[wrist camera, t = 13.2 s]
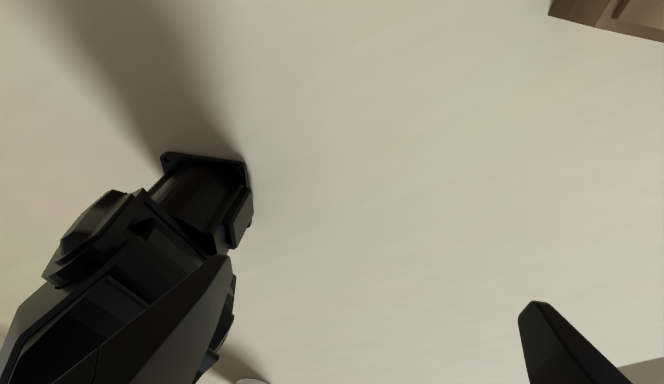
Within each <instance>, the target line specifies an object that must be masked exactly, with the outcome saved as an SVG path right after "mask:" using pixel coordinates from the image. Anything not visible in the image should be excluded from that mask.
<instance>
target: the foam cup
mask: <svg viewBox="0 0 664 384" xmlns="http://www.w3.org/2000/svg"><path fill="white" fill-rule="evenodd" d="M236 384H268V383H266V382H264V381H260V380H256V379H248V378H246V379H240V380H238V381H237V382H236Z"/></svg>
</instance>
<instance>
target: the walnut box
mask: <svg viewBox="0 0 664 384" xmlns="http://www.w3.org/2000/svg"><path fill="white" fill-rule="evenodd" d="M548 15H549V16H553V17H556V18H560V19H564V20H568V21H572V22H575V23H579V24H583V25H587V26H591V27H594V28H599V29H604V30H608V31H613V32H617V33H622V34H626V35H631V36H635V37H640V38H644V39H649V40H654V41H658V42H663V43H664V0H555V2H554V4H553V6H552V8H551V10H550V12H549V14H548Z"/></svg>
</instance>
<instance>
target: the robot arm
mask: <svg viewBox="0 0 664 384" xmlns="http://www.w3.org/2000/svg"><path fill="white" fill-rule="evenodd" d="M167 158H168V159H169V160H168V159H167ZM160 160H161V163H162V167H163V170H164V174H165V175H164V176H163V177H162V178H161V179H160V180H159V181H158V182H157V183H156V184H155V185H154V186H153V187H152V188H151V189H149V190H148V191H146V190H145V189H144V188H141V189H139V190H137V191H135V192H133V193H129V194H128V193H126V192H125V193H123V192H120V191H116V190H113V189H112V190H110V191H108V192H106V193H105V194H104V195H103V196H101V197H100V198H99V199H98V200H97V201H95V202H94V203H93V204H92V205H91V206H90V207H88V208H87V209H86V210H85V211H84V212H83V213H82V214H81V215H80V216H79V217H78V218H77V220H76V221H75V222H74V223H73V225H72V226H71V227H70V228H69V229H68V231H67V232H66V233H65V234H64V236H63V237H62V238H61V239H60V245H59V247H58V249H57V250H56V252H55V254H54V255H53V257H52V259H51V260H50V262H49V264H48V265H47V267H46V269H45V270H44V272H43V274H42V276H41V277H42V278H44V279H45V280H47V282H46V283H45V284H44V285H42V286H41V287H40V288H39V289H38V290H37V291H36V292H34V293H33V294H32V295H31V296H30V297H29V298H28V299H26V300H25V301H24V302H23V303H22V304H21V305H20V306H19V308H18V309H17V311H16V314H15V316H14V319H13V321H12V324H11V326H10V329H9V331H8V334H7V336H6V339H5V341H4V344H3V346H2V349H1V351H0V384H195V383H196V382H197V381H198V380H199V378H200V377H201V376H202V375H203V374H204V373H205V372H206V371H207V370H208V369H209V368H210V367H211V366H212V365H213V364H214V363H215V362H217V361H218V359H219V354H218V353H216V352H217V351H218V349H219V348H220V347H221V345H222V344H223V342H224V341H225V339H226V337H227V335H228V332H229V330H230V328H231V326H232V324H233V321H234V315H233V314H232V311H233V302H234V294H235V285H236V276H235V275H234V274H233V271H232V266H231V260H230V257H229V256H228V255H226V254H227V253H228V251H229V249H233V250H234V249H235V248H237V247H238V245H239V243H240V241H241V239H242V237H243V235H244V232H245V230H246V228H249V227H250V225H251V223H252V216H253V214H254V209H253V198H252V190H251V189H250V188H249V187H248V176H247V167H246V165H245V164H244V163H242V162H239V161H232V160H225V159H217V158H210V157H202V156H195V155H188V154H180V153H173V152H165V153H163V154H162V155H161V156H160ZM237 167H239V168H241V170H239V169H238V168H237ZM518 327H519V332H520V337H521V342H522V347H523V353H524V358H525V363H526V368H527V373H528V377H529V381H530V384H633V383H632V382H631V381H630V380H628V379H627V378H626V377H625V376H624V375H623V374H622V373H621V372H620V371H619V370H618V369H617V368H616V367H615V366H614V365H613V364H612V363H611V362H610V361H609V360H608V359H607V358H606V357H604V356H603V355H602V354H601V353H600V352H599V351H598V350H597V349H596V348H595V347H594V346H593V345H592V344H591V343H590V342H589V341H588V340H587V339H586V338H585V337H584V336H583V335H582V334H580V333H579V332H578V331H577V330H576V329H575V328H574V327H573V326H572V325H571V324H570V323H569V322H568V321H567V320H566V319H565V318H564V317H563V316H562V315H561V314H560V313H559V312H557V311H556V310H555V309H554V308H553V307H552V306H551V305H550V304H548V303H546V302H540V301H531V302H530V303H529V304H528V305H527V306H526V307H525V309H524V310H523V311H522V312H521V313H520V315H519V317H518Z"/></svg>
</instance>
